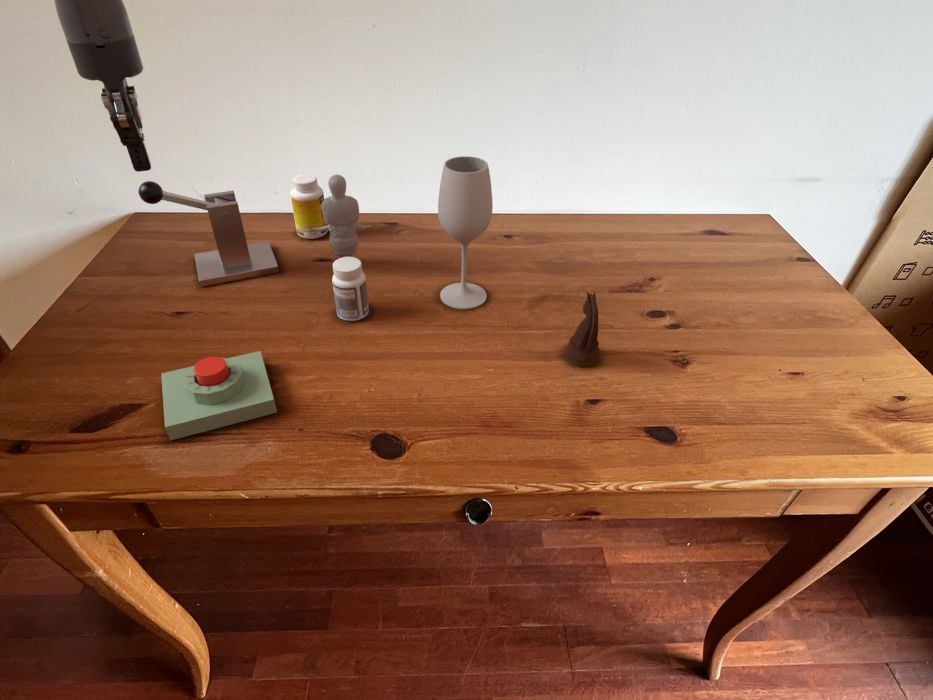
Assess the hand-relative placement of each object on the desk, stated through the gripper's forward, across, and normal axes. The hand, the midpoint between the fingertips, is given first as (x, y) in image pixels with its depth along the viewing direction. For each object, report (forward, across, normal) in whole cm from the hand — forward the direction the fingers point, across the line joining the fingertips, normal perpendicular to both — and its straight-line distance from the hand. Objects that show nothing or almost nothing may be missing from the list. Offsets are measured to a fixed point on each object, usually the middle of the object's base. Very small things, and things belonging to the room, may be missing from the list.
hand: (143, 169), depth 85 cm
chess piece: (+18, +42, +49) cm, 67 cm away
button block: (+18, +32, +3) cm, 37 cm away
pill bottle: (+18, +20, +23) cm, 35 cm away
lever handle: (+7, 0, +4) cm, 8 cm away
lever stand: (+18, 0, +9) cm, 20 cm away
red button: (+14, +32, +3) cm, 35 cm away
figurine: (+18, +5, +26) cm, 32 cm away
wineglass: (+18, +22, +40) cm, 49 cm away
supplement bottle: (+18, -7, +23) cm, 30 cm away
